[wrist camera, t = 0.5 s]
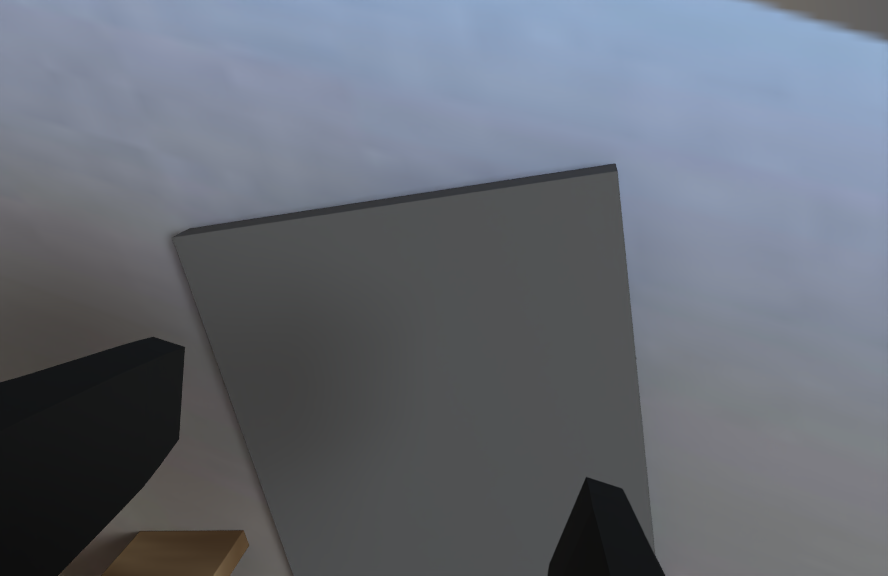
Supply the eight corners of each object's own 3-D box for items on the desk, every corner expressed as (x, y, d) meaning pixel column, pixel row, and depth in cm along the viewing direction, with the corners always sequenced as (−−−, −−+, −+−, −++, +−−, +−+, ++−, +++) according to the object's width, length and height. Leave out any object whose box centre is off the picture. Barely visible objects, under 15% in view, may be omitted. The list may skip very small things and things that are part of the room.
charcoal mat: (657, 591, 23) (660, 615, 22) (313, 585, 26) (304, 605, 26) (615, 163, 17) (617, 171, 17) (189, 228, 21) (172, 237, 20)
